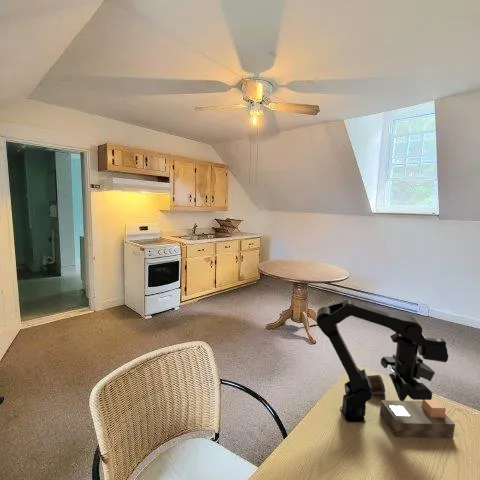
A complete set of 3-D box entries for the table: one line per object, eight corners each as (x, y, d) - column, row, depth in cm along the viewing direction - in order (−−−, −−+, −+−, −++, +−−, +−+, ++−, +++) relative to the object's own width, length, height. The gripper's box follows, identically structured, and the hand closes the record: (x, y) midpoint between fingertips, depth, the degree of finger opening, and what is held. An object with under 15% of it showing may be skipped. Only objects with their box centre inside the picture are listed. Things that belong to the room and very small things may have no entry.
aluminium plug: (395, 429, 90) (396, 415, 90) (387, 418, 95) (389, 405, 94) (408, 429, 90) (410, 416, 90) (400, 419, 95) (402, 406, 94)
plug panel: (395, 437, 87) (397, 422, 87) (379, 413, 97) (381, 400, 97) (453, 438, 88) (455, 424, 87) (431, 414, 97) (433, 401, 97)
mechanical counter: (386, 393, 100) (390, 374, 108) (349, 377, 107) (355, 360, 114) (383, 407, 103) (387, 388, 110) (347, 391, 109) (353, 373, 117)
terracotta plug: (430, 421, 90) (431, 407, 89) (421, 411, 94) (422, 398, 94) (443, 421, 90) (445, 408, 89) (434, 411, 94) (436, 398, 94)
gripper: (453, 373, 80) (447, 423, 82) (413, 341, 98) (408, 382, 100) (414, 373, 80) (409, 422, 82) (381, 341, 98) (378, 382, 100)
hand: (401, 400), depth 91 cm, fingers closed
